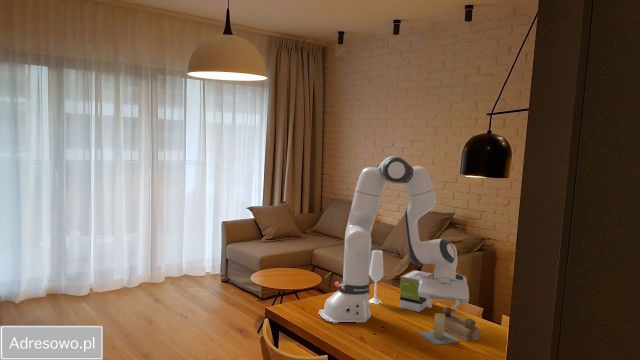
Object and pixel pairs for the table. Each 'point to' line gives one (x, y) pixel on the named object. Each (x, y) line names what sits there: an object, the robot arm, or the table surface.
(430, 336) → the rubber mat
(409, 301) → the tea box
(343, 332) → the table surface
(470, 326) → the plane body
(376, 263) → the champagne flute
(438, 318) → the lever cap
